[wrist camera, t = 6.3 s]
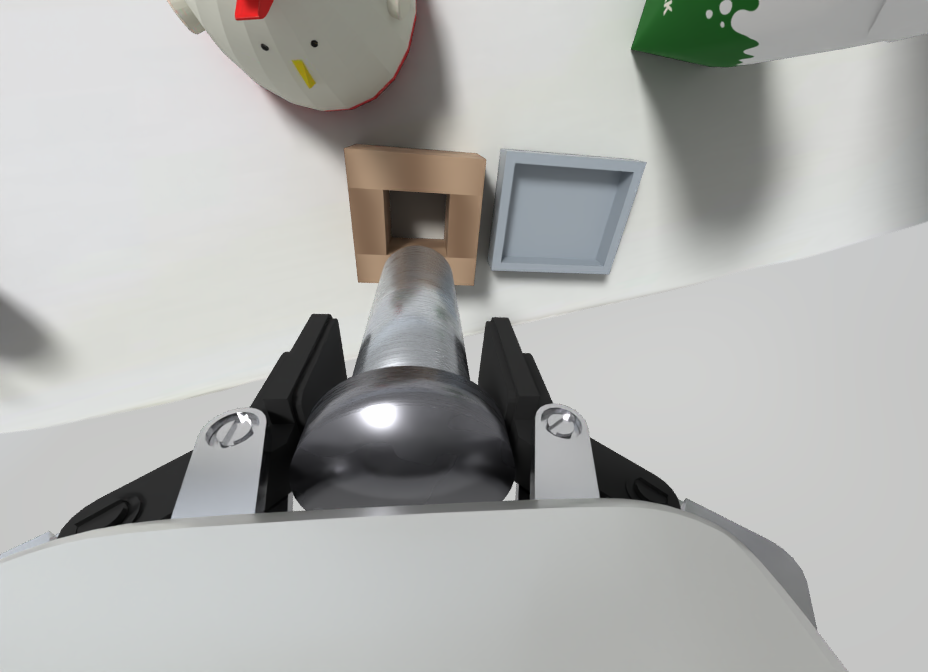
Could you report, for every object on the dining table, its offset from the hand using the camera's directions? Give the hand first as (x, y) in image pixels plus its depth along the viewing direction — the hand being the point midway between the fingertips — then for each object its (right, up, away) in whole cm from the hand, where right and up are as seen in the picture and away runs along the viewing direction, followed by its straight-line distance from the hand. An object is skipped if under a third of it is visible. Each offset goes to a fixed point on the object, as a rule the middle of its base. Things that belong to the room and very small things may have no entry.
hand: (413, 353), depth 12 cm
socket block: (-2, +12, +19) cm, 22 cm away
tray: (+10, +12, +20) cm, 26 cm away
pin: (-1, +3, +5) cm, 6 cm away
